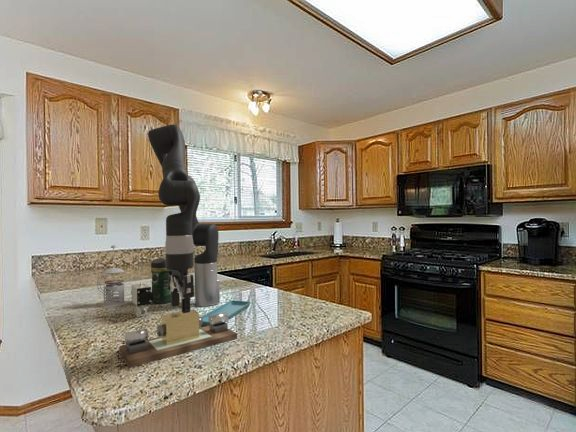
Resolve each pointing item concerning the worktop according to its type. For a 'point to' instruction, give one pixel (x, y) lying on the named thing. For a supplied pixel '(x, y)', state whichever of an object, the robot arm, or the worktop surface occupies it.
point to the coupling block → (179, 327)
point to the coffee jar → (160, 281)
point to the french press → (113, 288)
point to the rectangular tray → (227, 310)
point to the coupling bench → (155, 349)
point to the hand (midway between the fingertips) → (180, 309)
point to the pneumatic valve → (141, 298)
